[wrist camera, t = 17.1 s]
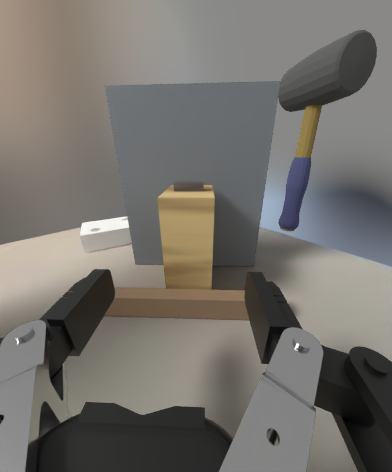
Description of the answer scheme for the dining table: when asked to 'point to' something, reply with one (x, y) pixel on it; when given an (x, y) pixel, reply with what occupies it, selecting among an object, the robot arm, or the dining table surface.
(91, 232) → the bracket
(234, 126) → the wall board
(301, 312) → the dining table surface
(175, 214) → the ochre block
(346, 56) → the rubber mallet
